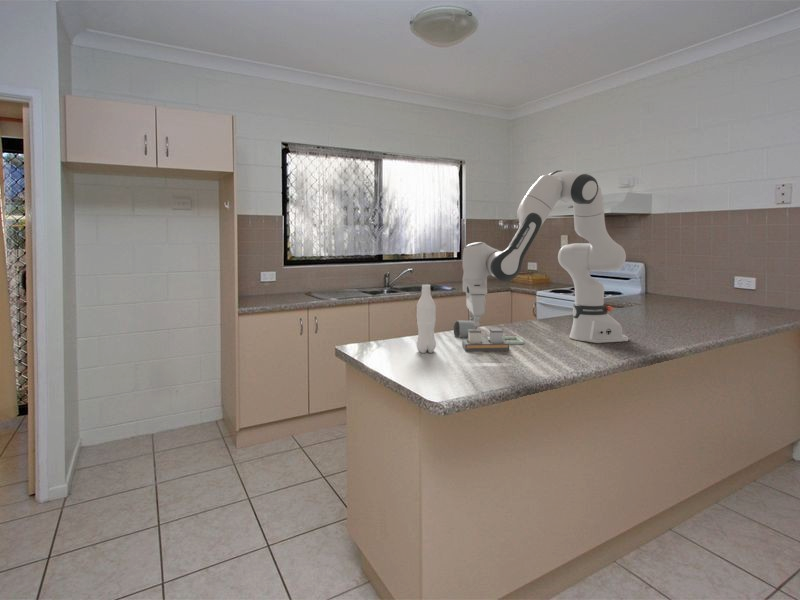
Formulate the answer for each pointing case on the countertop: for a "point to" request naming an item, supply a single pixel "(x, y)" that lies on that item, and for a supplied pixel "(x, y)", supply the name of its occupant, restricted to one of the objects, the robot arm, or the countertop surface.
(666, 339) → the countertop surface
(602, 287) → the robot arm
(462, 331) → the ceramic mug
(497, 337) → the twin plug
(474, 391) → the countertop surface
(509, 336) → the tray
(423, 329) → the water bottle
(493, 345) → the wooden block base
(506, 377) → the countertop surface
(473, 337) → the plug
